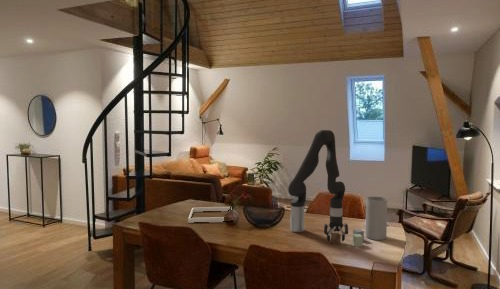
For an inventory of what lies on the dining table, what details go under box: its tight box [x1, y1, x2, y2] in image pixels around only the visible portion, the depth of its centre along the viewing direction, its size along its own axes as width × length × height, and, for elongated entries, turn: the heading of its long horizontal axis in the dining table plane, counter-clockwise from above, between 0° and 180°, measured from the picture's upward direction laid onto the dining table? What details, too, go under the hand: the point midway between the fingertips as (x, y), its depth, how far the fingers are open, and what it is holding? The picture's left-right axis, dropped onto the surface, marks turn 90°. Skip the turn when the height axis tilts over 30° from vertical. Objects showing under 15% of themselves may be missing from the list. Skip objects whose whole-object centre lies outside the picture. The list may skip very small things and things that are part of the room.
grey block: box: [352, 228, 365, 242], centre depth 222 cm, size 4×4×6 cm
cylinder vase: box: [365, 196, 388, 241], centre depth 226 cm, size 12×12×25 cm
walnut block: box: [330, 232, 342, 246], centre depth 216 cm, size 4×4×6 cm
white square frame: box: [187, 206, 231, 224], centre depth 277 cm, size 32×32×4 cm
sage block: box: [351, 234, 364, 248], centre depth 212 cm, size 4×4×6 cm
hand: (335, 240), depth 216 cm, fingers open, 8 cm apart
